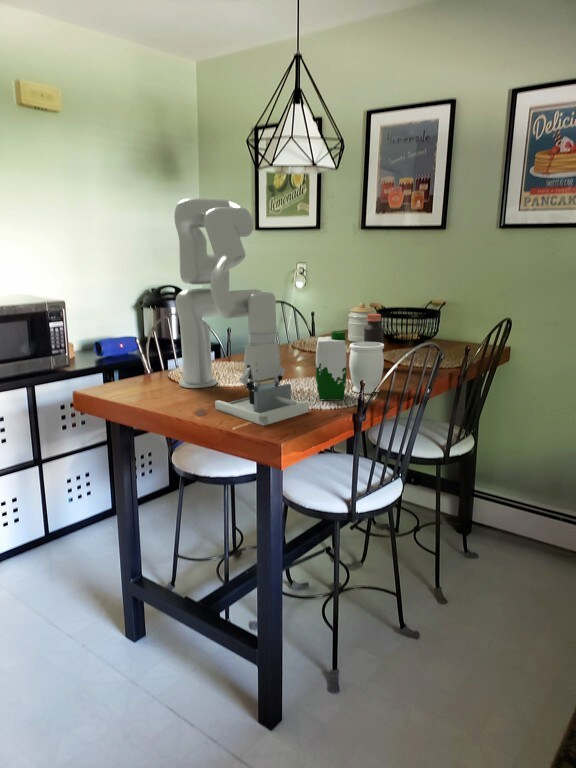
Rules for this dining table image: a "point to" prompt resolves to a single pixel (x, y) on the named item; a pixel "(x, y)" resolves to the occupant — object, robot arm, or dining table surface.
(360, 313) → the jar
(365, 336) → the bottle
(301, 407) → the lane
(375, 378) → the jar
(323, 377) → the milk carton
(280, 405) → the pusher
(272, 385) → the glazed jar
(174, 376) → the dining table surface
